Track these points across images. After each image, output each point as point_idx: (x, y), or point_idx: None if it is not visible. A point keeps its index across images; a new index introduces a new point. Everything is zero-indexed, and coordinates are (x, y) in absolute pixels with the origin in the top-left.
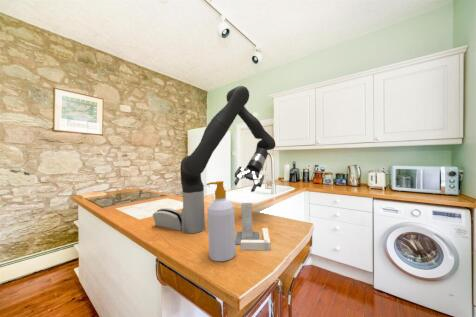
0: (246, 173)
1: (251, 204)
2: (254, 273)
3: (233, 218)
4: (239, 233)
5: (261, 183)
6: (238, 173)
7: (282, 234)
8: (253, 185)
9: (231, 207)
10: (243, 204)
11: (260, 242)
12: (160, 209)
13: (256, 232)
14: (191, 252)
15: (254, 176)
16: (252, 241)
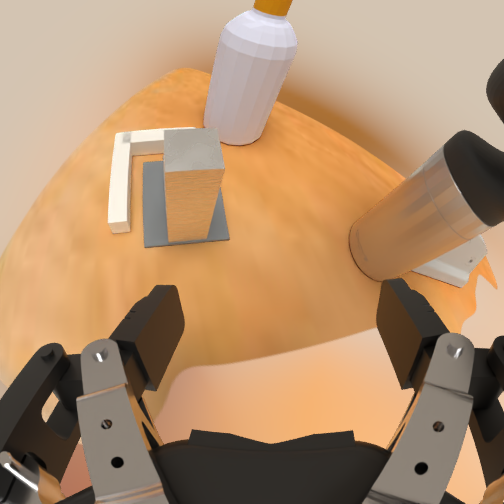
0: (378, 475)
1: (164, 144)
2: (161, 89)
3: (217, 49)
4: (216, 223)
5: (35, 355)
6: (492, 439)
7: (64, 239)
8: (146, 318)
9: (227, 23)
10: (210, 144)
11: (141, 130)
12: (481, 236)
13: (152, 237)
14: (302, 134)
15: (112, 444)
16: (163, 133)
